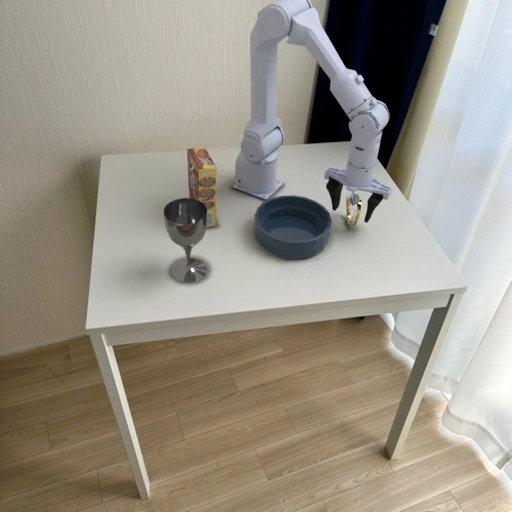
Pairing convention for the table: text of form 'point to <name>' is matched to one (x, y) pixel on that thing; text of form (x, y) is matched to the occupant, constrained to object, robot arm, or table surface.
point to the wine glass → (186, 235)
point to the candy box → (202, 180)
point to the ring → (352, 201)
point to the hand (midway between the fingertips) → (351, 214)
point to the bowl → (292, 226)
